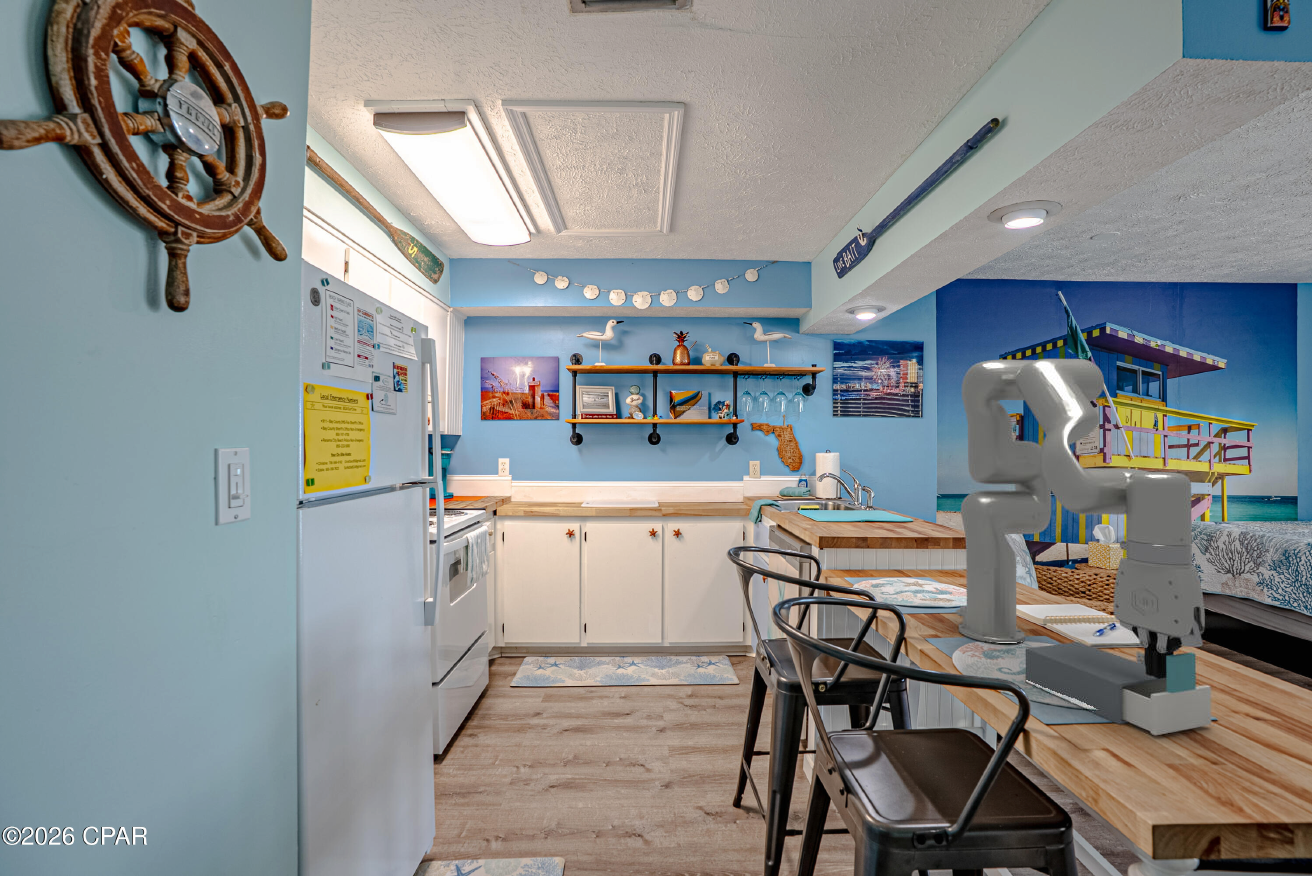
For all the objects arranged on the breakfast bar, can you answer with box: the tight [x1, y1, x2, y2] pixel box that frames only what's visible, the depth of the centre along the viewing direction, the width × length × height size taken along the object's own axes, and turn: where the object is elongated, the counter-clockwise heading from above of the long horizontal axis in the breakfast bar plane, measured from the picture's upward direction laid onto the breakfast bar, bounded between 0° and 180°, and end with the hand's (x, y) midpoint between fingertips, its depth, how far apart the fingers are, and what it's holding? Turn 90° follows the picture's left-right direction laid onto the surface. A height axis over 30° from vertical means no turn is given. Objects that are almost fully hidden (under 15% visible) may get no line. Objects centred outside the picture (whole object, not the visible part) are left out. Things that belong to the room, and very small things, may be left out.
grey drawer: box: [1122, 651, 1212, 736], centre depth 94 cm, size 16×11×11 cm
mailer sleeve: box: [1025, 641, 1167, 725], centre depth 98 cm, size 16×12×6 cm
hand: (1159, 675), depth 89 cm, fingers closed
